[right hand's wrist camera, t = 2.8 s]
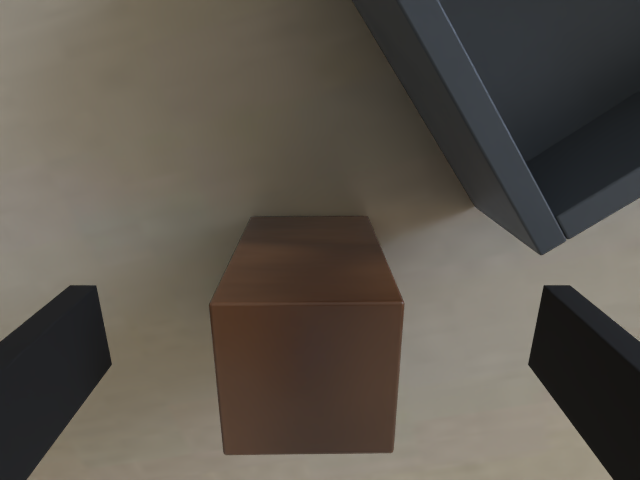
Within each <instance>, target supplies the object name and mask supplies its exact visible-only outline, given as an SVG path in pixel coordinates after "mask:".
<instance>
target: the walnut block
mask: <svg viewBox="0 0 640 480" xmlns="http://www.w3.org/2000/svg"><path fill="white" fill-rule="evenodd" d="M209 310H210V320H211V331H212V341H213V351H214V361H215V372H216V382H217V392H218V402H219V413H220V423H221V433H222V443H223V452H224V454H225V455H269V454H353V453H392V452H393V450H394V438H395V425H396V411H397V398H398V384H399V371H400V357H401V344H402V330H403V317H404V301H403V299H402V296H401V294H400V292H399V289H398V287H397V285H396V282H395V280H394V277H393V275H392V273H391V270H390V268H389V266H388V263H387V261H386V258H385V256H384V254H383V251H382V249H381V247H380V244H379V242H378V239H377V237H376V235H375V232H374V230H373V228H372V225H371V223H370V220H369V218H368V217H367V216H300V217H251V218H250V220H249V222H248V224H247V226H246V228H245V230H244V232H243V235H242V237H241V239H240V241H239V243H238V245H237V247H236V249H235V251H234V253H233V255H232V258H231V260H230V262H229V264H228V266H227V268H226V270H225V272H224V274H223V276H222V278H221V280H220V283H219V285H218V287H217V289H216V291H215V293H214V295H213V297H212V299H211V301H210V304H209Z"/></svg>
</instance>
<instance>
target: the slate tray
mask: <svg viewBox="0 0 640 480" xmlns="http://www.w3.org/2000/svg"><path fill="white" fill-rule="evenodd" d="M352 1H353V3H354V4H355V6H356V8H357V9H358V11H359V13H360V14H361V16H362V18H363V19H364V21H365V23H366V24H367V26H368V28H369V29H370V31H371V33H372V34H373V36H374V38H375V40H376V41H377V43H378V45H379V46H380V48H381V50H382V51H383V53H384V55H385V56H386V58H387V60H388V61H389V63H390V65H391V66H392V68H393V70H394V71H395V73H396V75H397V76H398V78H399V80H400V81H401V83H402V85H403V87H404V88H405V90H406V92H407V93H408V95H409V97H410V98H411V100H412V102H413V103H414V105H415V107H416V108H417V110H418V112H419V113H420V115H421V117H422V118H423V120H424V122H425V123H426V125H427V127H428V128H429V130H430V132H431V133H432V135H433V137H434V139H435V140H436V142H437V144H438V145H439V147H440V149H441V150H442V152H443V154H444V155H445V157H446V159H447V160H448V162H449V164H450V165H451V167H452V169H453V170H454V172H455V174H456V175H457V177H458V179H459V180H460V182H461V184H462V185H463V187H464V189H465V191H466V192H467V194H468V196H469V197H470V199H471V201H472V202H473V204H474V206H475V207H476V208H477V209H479V210H480V211H481V212H483V213H484V214H485V215H487V216H488V217H489V218H491V219H492V220H493V221H495V222H496V223H498V224H499V225H500V226H502V227H503V228H504V229H506V230H507V231H508V232H510V233H511V234H512V235H514V236H515V237H516V238H518V239H519V240H520V241H522V242H523V243H524V244H526V245H527V246H529V247H530V248H531V249H533V250H534V251H535V252H537V253H538V254H539V255H543V254H545V253H547V252H548V251H550V250H552V249H554V248H555V247H557V246H559V245H560V244H562V243H564V242H565V241H566V239H570V238H572V237H574V236H576V235H577V234H579V233H581V232H582V231H584V230H586V229H587V228H589V227H591V226H592V225H594V224H596V223H598V222H599V221H601V220H603V219H604V218H606V217H608V216H609V215H611V214H613V213H615V212H616V211H618V210H620V209H621V208H623V207H625V206H626V205H628V204H630V203H631V202H633V201H635V200H637V199H638V198H640V0H352Z"/></svg>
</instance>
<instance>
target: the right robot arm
mask: <svg viewBox="0 0 640 480" xmlns="http://www.w3.org/2000/svg"><path fill="white" fill-rule="evenodd" d="M111 365H112V363H111V358H110V353H109V348H108V343H107V338H106V333H105V328H104V322H103V317H102V312H101V307H100V302H99V297H98V292H97V287H96V285H70V286H69V287H68V288H66V289H65V290H64V291H63V292H61V293H60V294H59V295H58V296H56V297H55V298H54V299H53V300H51V301H50V302H49V303H48V304H47V305H45V306H44V307H43V308H42V309H40V310H39V311H38V312H37V313H35V314H34V315H33V316H32V317H30V318H29V319H28V320H27V321H25V322H24V323H23V324H22V325H21V326H19V327H18V328H17V329H16V330H14V331H13V332H12V333H11V334H9V335H8V336H7V337H6V338H4V339H3V340H2V341H1V342H0V480H27V478H28V477H29V476H30V474H31V473H32V472H33V470H34V469H35V467H36V466H37V465H38V463H39V462H40V461H41V459H42V458H43V457H44V455H45V454H46V453H47V451H48V450H49V449H50V447H51V446H52V445H53V443H54V442H55V440H56V439H57V438H58V436H59V435H60V434H61V432H62V431H63V430H64V428H65V427H66V426H67V424H68V423H69V422H70V420H71V419H72V418H73V416H74V415H75V413H76V412H77V411H78V409H79V408H80V407H81V405H82V404H83V403H84V401H85V400H86V399H87V397H88V396H89V395H90V393H91V392H92V391H93V389H94V388H95V386H96V385H97V384H98V382H99V381H100V380H101V378H102V377H103V376H104V374H105V373H106V372H107V370H108V369H109V368H110V366H111ZM528 365H529V366H530V368H531V369H532V370H533V372H534V373H535V374H536V376H537V377H538V378H539V380H540V381H541V382H542V384H543V385H544V386H545V388H546V389H547V391H548V392H549V393H550V395H551V396H552V397H553V399H554V400H555V401H556V403H557V404H558V405H559V407H560V408H561V409H562V411H563V412H564V413H565V415H566V416H567V418H568V419H569V420H570V422H571V423H572V424H573V426H574V427H575V428H576V430H577V431H578V432H579V434H580V435H581V436H582V438H583V439H584V440H585V442H586V443H587V445H588V446H589V447H590V449H591V450H592V451H593V453H594V454H595V455H596V457H597V458H598V459H599V461H600V462H601V463H602V465H603V466H604V467H605V469H606V470H607V472H608V473H609V474H610V476H611V477H612V478H613V480H640V342H639V341H638V340H637V339H636V338H634V337H633V336H632V335H631V334H629V333H628V332H627V331H626V330H624V329H623V328H622V327H621V326H619V325H618V324H617V323H616V322H615V321H613V320H612V319H611V318H610V317H608V316H607V315H606V314H605V313H603V312H602V311H601V310H600V309H598V308H597V307H596V306H595V305H593V304H592V303H591V302H590V301H589V300H587V299H586V298H585V297H584V296H582V295H581V294H580V293H579V292H577V291H576V290H575V289H574V288H572V287H571V286H570V285H544V287H543V292H542V297H541V302H540V307H539V312H538V317H537V322H536V328H535V333H534V338H533V343H532V348H531V353H530V358H529V363H528Z"/></svg>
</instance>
